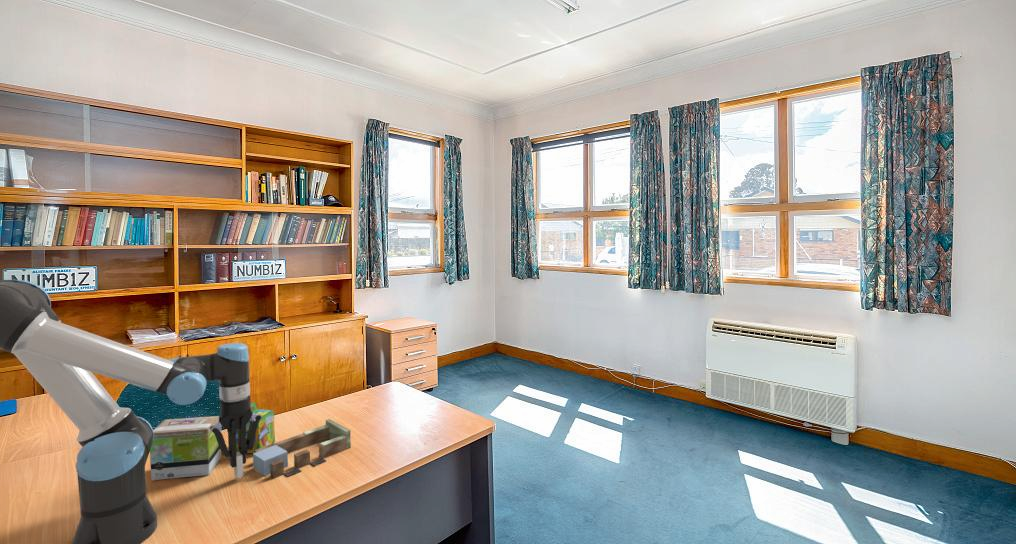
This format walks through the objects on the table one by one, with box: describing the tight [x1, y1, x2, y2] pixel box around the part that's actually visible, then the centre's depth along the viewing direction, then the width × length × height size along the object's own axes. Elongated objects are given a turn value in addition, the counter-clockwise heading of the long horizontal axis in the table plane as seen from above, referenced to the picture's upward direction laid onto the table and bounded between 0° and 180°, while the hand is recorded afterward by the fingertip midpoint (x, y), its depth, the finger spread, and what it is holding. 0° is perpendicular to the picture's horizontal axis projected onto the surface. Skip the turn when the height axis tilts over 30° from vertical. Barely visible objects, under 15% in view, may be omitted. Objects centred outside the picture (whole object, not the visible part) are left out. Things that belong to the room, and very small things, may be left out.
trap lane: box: [254, 418, 352, 479], centre depth 145 cm, size 25×16×6 cm, turn 140°
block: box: [252, 445, 289, 477], centre depth 138 cm, size 7×7×5 cm
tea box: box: [149, 415, 221, 482], centre depth 135 cm, size 15×10×15 cm
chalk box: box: [236, 402, 276, 454], centre depth 149 cm, size 9×9×15 cm
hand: (238, 475), depth 131 cm, fingers closed
